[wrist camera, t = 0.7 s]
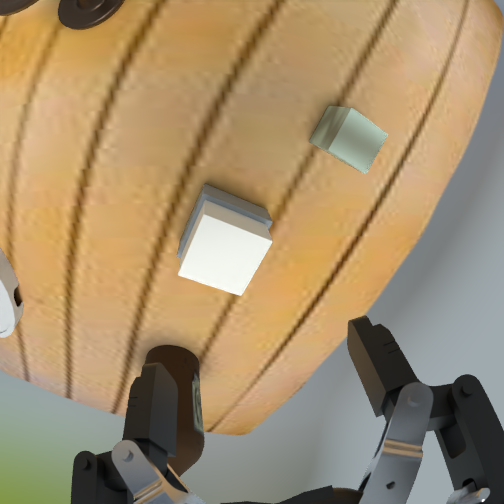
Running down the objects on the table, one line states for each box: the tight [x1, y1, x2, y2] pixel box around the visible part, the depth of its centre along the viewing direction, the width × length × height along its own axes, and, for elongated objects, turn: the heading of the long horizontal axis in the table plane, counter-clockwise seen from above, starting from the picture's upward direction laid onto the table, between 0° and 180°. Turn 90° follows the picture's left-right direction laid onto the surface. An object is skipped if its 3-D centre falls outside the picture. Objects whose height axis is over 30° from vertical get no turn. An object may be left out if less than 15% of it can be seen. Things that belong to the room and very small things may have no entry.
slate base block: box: [177, 184, 272, 258], centre depth 32 cm, size 8×8×4 cm
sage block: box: [309, 106, 388, 174], centre depth 27 cm, size 5×5×6 cm
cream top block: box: [178, 200, 273, 296], centre depth 29 cm, size 7×7×4 cm
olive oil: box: [145, 346, 204, 477], centre depth 34 cm, size 11×11×25 cm
